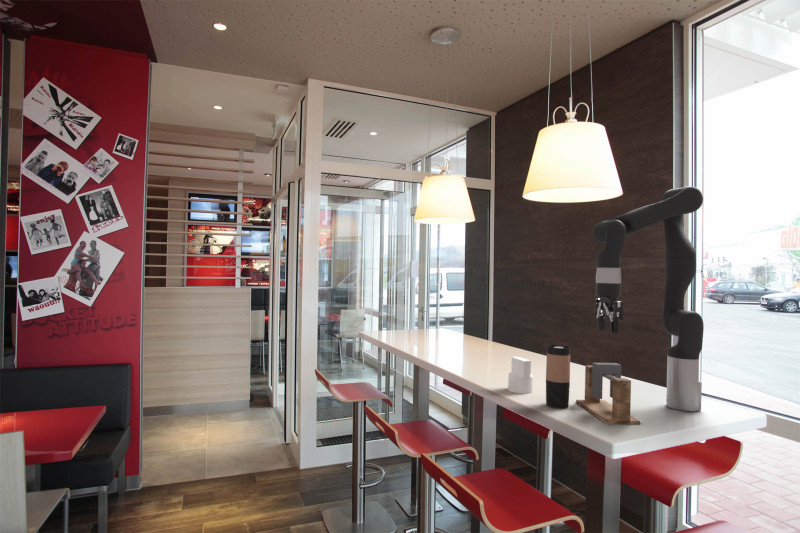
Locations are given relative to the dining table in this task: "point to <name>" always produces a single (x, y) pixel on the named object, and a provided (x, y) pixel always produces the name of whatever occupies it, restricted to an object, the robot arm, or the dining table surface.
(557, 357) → the travel mug
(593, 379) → the grey arch block
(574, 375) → the dining table surface
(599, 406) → the rail
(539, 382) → the dining table surface
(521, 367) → the cylinder with rectangular tab
